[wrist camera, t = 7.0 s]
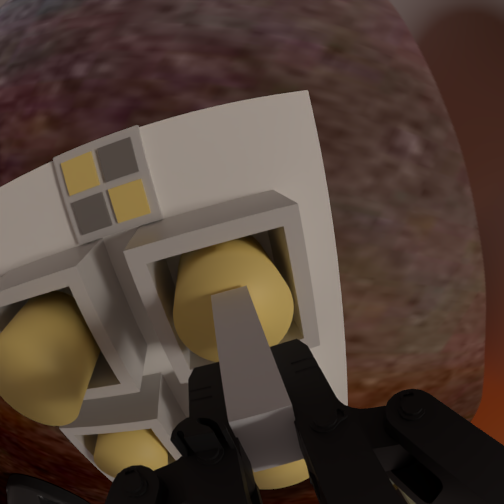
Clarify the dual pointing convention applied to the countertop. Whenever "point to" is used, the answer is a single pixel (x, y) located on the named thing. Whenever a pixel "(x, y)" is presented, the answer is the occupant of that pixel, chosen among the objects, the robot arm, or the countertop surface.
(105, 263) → the button board
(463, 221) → the countertop surface
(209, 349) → the button
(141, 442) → the button
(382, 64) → the countertop surface
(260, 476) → the button
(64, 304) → the button
